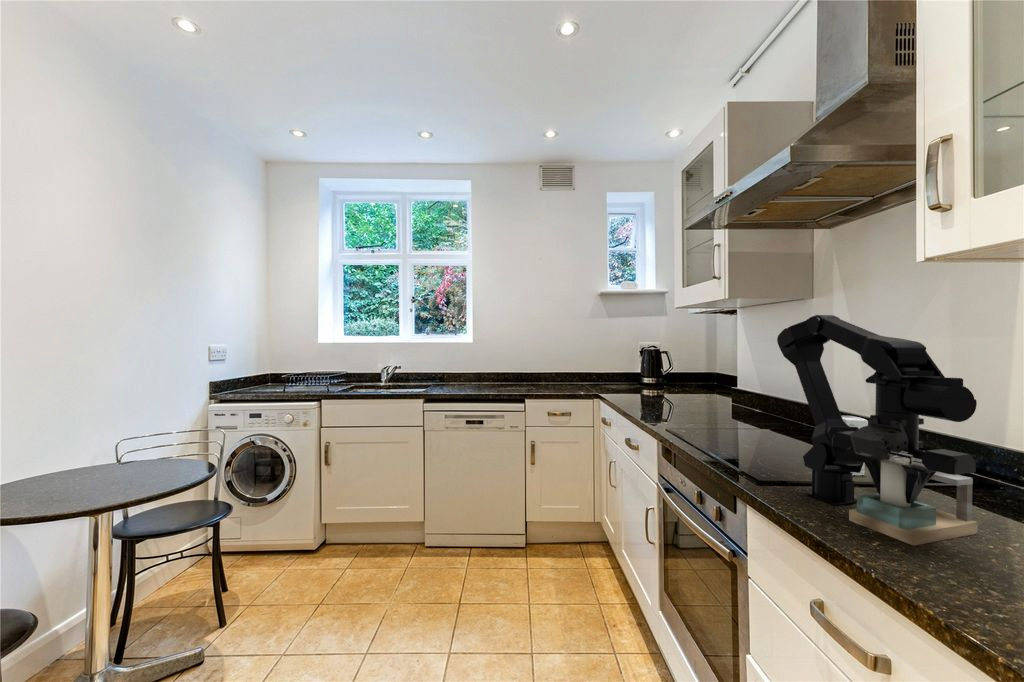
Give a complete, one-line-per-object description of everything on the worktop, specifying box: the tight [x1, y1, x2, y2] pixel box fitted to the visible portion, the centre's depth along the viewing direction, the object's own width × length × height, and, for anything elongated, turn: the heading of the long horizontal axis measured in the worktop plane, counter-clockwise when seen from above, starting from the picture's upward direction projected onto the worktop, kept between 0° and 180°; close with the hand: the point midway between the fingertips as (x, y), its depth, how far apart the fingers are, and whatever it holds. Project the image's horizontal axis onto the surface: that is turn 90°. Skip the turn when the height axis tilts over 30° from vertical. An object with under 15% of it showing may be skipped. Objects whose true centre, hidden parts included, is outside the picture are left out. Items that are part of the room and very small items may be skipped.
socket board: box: [848, 472, 979, 546], centre depth 76 cm, size 10×16×10 cm, turn 107°
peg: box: [880, 460, 911, 509], centre depth 75 cm, size 4×4×8 cm
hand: (895, 498), depth 75 cm, fingers closed on peg, 4 cm apart
